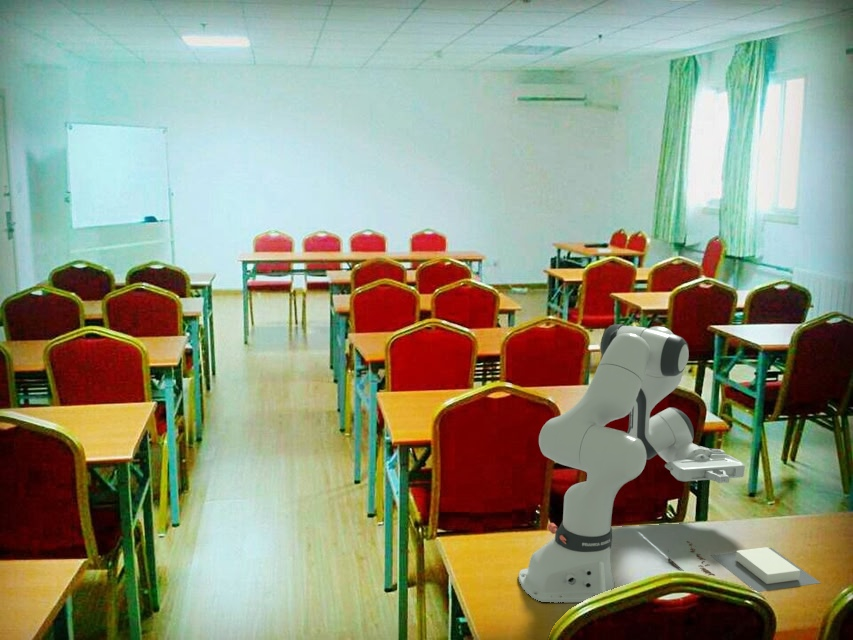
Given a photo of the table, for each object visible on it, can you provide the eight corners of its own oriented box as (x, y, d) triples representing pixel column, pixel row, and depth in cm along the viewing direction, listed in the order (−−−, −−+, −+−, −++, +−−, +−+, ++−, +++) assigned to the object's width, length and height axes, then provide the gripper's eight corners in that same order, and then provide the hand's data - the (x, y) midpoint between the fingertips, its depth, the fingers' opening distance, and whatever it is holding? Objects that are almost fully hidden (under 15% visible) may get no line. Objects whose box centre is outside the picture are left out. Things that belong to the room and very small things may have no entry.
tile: (735, 560, 197) (766, 585, 186) (736, 550, 197) (767, 574, 185) (766, 556, 199) (799, 580, 188) (767, 547, 199) (800, 570, 187)
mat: (755, 593, 183) (755, 591, 183) (710, 556, 200) (710, 555, 200) (820, 584, 187) (821, 582, 187) (770, 549, 204) (771, 547, 204)
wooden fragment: (726, 586, 187) (727, 582, 186) (680, 585, 187) (680, 581, 187) (692, 536, 212) (693, 532, 212) (652, 535, 212) (652, 531, 212)
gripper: (662, 453, 217) (690, 471, 204) (727, 449, 222) (758, 466, 209) (660, 474, 218) (688, 493, 205) (724, 470, 223) (756, 488, 210)
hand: (724, 480), depth 207 cm, fingers closed
